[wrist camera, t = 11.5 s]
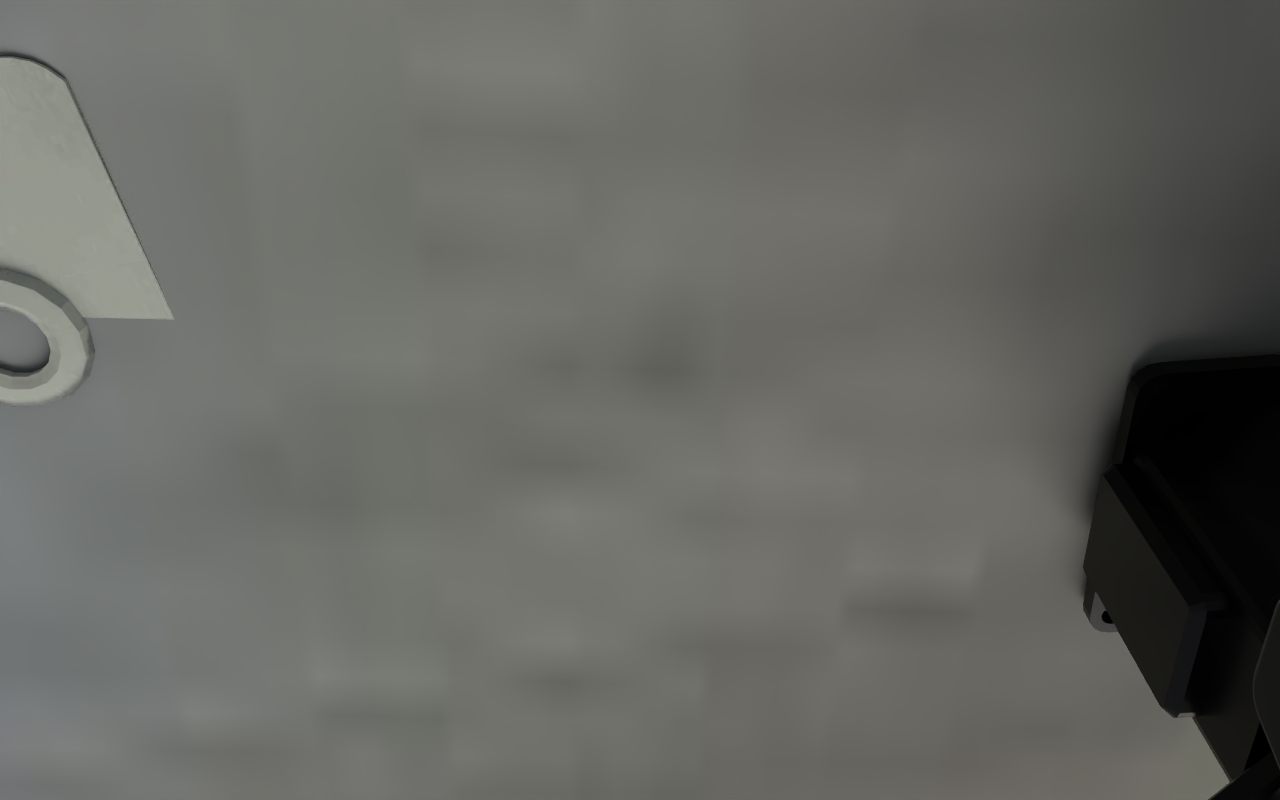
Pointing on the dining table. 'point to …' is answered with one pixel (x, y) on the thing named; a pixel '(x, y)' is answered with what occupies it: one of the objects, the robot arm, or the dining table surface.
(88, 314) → the mounting bracket
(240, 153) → the dining table surface
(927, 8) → the dining table surface
